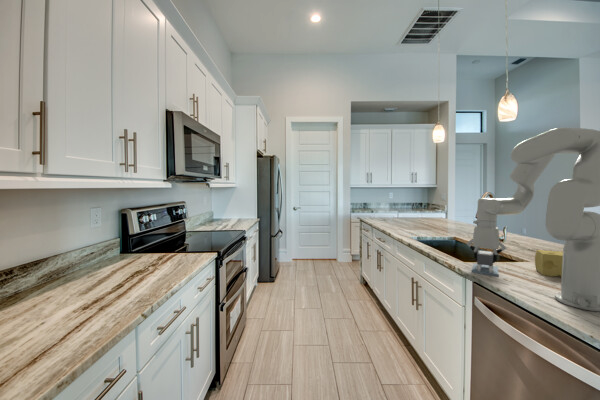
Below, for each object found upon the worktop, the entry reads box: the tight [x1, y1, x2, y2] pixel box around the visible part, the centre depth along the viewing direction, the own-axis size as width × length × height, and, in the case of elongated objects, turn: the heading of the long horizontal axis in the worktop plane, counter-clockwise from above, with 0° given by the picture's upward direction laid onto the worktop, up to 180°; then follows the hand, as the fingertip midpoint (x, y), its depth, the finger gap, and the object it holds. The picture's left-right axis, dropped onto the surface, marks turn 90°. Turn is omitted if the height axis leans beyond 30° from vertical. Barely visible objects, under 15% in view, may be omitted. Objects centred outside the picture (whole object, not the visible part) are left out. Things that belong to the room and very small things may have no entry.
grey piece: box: [471, 262, 500, 277], centre depth 123 cm, size 14×10×4 cm
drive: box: [476, 249, 494, 266], centre depth 123 cm, size 10×6×5 cm, turn 143°
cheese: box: [534, 249, 563, 278], centre depth 118 cm, size 10×11×10 cm
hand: (485, 260), depth 123 cm, fingers closed on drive, 6 cm apart
